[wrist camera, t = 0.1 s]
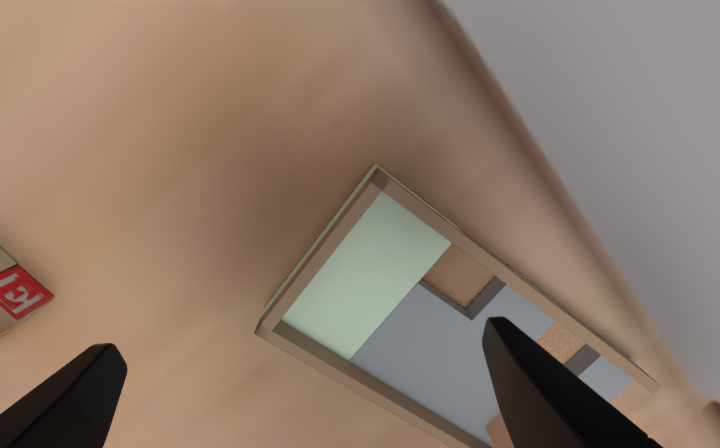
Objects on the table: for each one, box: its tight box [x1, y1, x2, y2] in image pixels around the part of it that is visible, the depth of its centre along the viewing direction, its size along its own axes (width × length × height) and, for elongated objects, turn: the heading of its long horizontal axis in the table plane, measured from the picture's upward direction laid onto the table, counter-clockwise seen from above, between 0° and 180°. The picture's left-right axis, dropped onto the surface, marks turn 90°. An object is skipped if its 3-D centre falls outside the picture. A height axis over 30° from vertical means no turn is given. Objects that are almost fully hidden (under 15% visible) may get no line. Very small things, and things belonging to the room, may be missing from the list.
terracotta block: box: [485, 413, 514, 448], centre depth 27 cm, size 5×6×4 cm
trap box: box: [254, 164, 661, 448], centre depth 26 cm, size 13×26×3 cm, turn 53°
